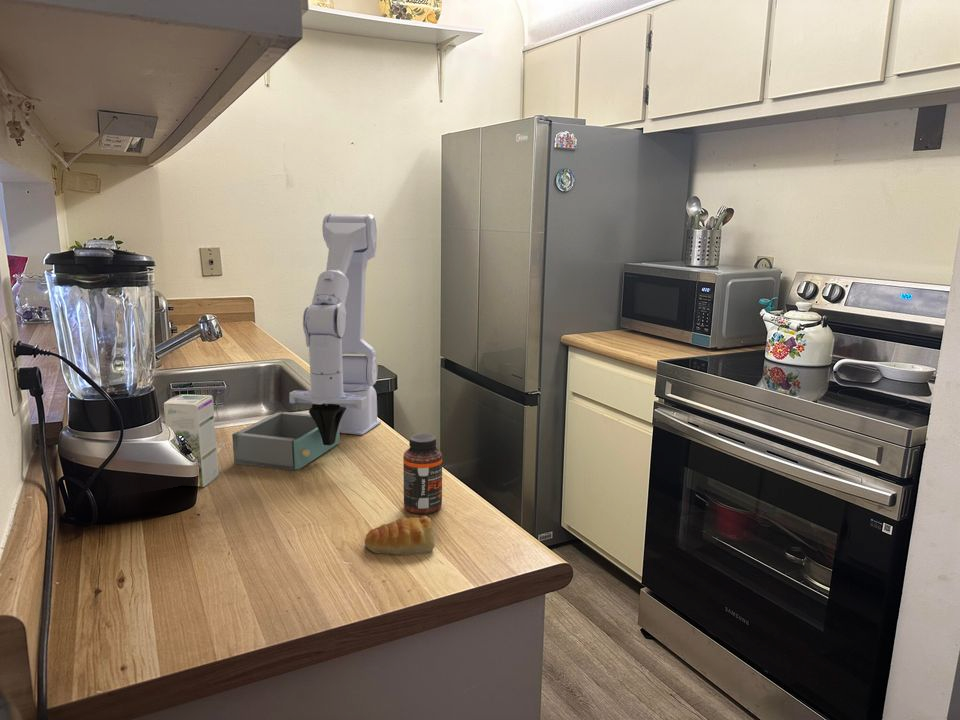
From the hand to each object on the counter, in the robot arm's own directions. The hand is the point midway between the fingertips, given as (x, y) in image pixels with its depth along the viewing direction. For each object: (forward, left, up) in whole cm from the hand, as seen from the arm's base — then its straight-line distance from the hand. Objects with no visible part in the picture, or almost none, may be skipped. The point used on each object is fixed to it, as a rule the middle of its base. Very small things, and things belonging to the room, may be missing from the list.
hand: (329, 443), depth 124 cm
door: (0, -2, -3) cm, 3 cm away
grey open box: (0, -9, -3) cm, 10 cm away
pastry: (+27, +26, -3) cm, 37 cm away
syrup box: (+16, -16, -3) cm, 23 cm away
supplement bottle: (+14, +24, -3) cm, 28 cm away
